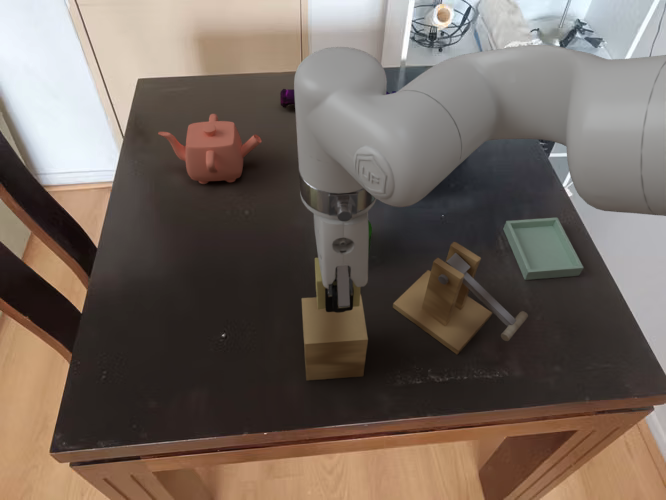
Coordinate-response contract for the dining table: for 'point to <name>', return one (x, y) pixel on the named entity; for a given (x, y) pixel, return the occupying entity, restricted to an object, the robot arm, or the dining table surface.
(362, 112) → the robot arm
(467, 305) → the slicer
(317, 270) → the butter
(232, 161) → the teapot
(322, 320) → the stand
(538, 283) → the dining table surface
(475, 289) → the lever
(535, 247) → the butter dish
